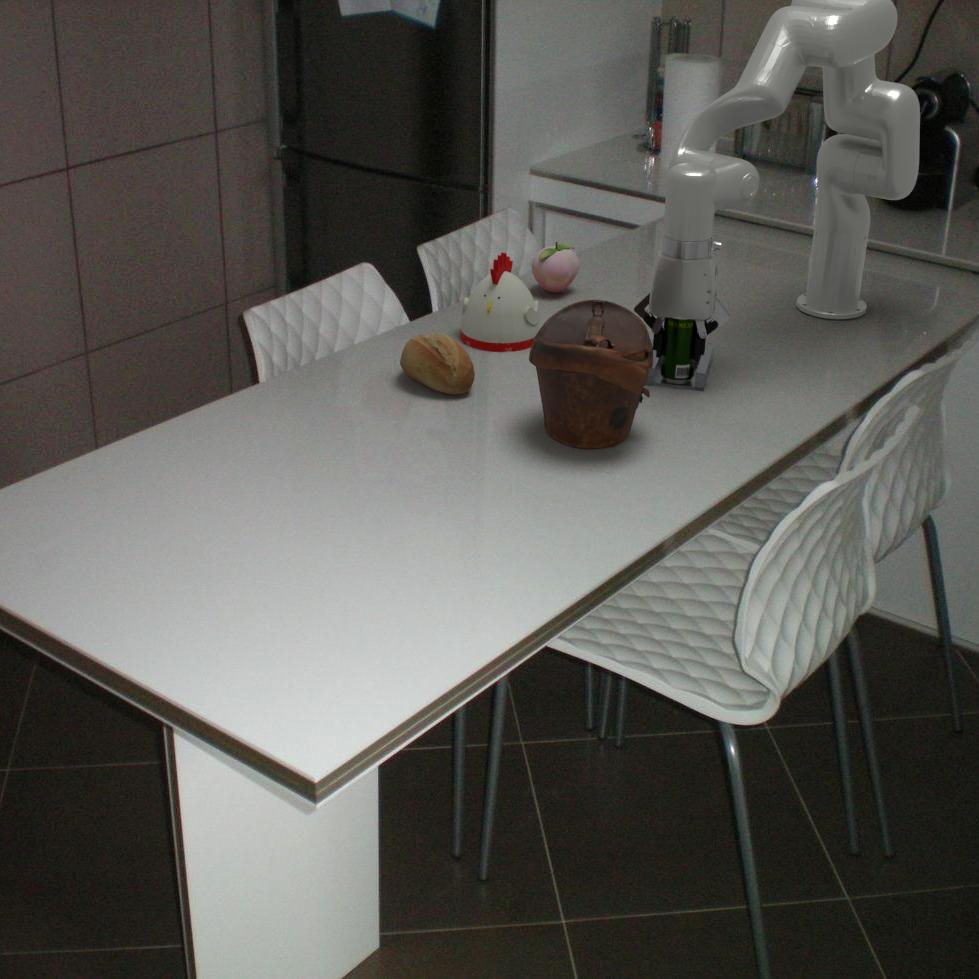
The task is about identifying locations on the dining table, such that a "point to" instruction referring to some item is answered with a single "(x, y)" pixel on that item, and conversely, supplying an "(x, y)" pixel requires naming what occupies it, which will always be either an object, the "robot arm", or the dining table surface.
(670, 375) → the beer can
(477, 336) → the kitchen timer
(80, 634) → the dining table surface
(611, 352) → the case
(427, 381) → the bread roll
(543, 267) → the decorative fruit
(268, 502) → the dining table surface
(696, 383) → the grey tray
